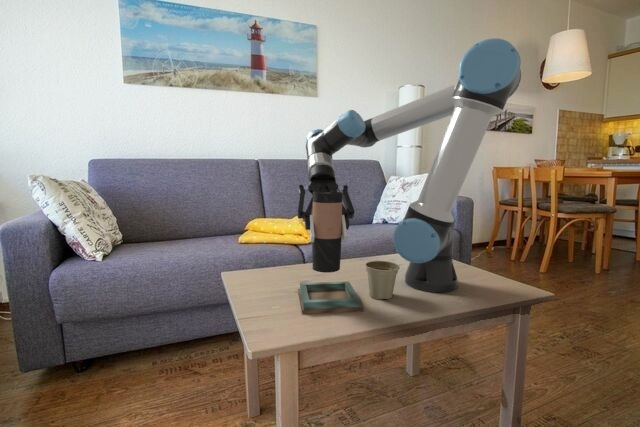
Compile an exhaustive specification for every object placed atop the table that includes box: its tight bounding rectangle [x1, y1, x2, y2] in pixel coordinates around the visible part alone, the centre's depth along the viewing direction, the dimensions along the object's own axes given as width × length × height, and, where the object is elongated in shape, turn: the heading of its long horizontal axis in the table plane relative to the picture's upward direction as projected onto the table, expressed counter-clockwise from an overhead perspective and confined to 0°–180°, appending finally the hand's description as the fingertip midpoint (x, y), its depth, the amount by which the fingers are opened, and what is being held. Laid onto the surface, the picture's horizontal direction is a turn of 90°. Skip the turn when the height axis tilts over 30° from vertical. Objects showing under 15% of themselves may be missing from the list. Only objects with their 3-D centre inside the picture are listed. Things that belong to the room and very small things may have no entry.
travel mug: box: [311, 191, 343, 274], centre depth 87 cm, size 8×8×20 cm
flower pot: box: [364, 260, 401, 300], centre depth 92 cm, size 9×9×9 cm
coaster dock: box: [297, 281, 364, 315], centre depth 89 cm, size 15×15×3 cm
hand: (328, 239), depth 84 cm, fingers closed on travel mug, 7 cm apart
